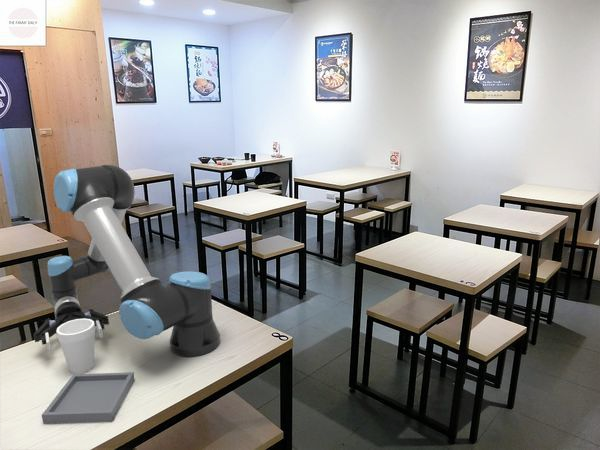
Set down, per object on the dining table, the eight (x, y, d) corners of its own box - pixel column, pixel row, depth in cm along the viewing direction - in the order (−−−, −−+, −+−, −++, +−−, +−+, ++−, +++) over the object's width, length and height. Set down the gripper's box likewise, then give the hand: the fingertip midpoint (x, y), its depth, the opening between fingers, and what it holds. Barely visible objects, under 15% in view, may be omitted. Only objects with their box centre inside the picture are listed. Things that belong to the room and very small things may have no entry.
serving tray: (134, 380, 118) (133, 372, 117) (112, 421, 102) (111, 412, 102) (74, 382, 117) (73, 374, 117) (43, 424, 102) (41, 415, 101)
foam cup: (105, 366, 124) (99, 325, 121) (72, 381, 118) (64, 338, 114) (91, 354, 130) (85, 315, 127) (58, 368, 124) (51, 327, 120)
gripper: (110, 312, 150) (122, 339, 133) (26, 332, 138) (27, 364, 120) (107, 292, 148) (119, 316, 131) (22, 310, 136) (22, 340, 118)
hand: (75, 339), depth 126 cm, fingers open, 13 cm apart
